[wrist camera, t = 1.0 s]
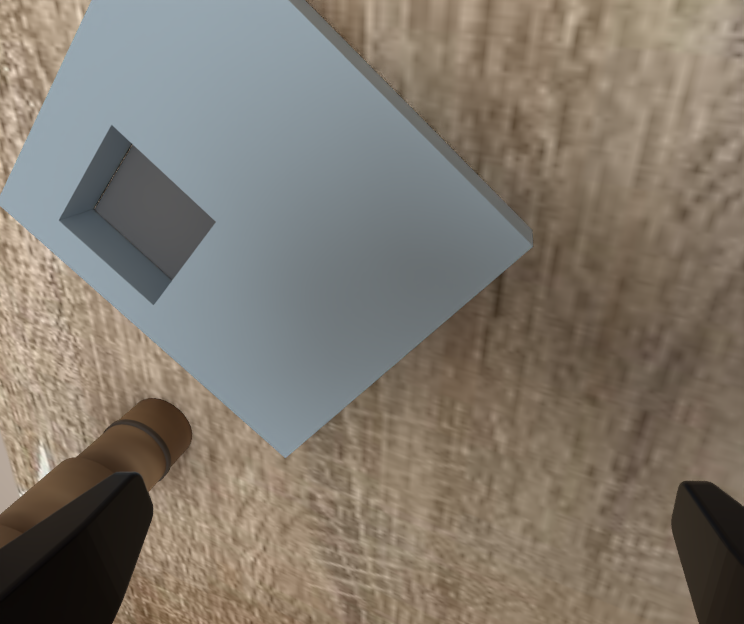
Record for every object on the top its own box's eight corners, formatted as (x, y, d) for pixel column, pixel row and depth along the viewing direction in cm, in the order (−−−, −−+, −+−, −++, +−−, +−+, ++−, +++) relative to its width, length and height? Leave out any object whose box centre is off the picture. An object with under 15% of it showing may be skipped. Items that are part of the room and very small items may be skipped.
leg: (216, 433, 27) (-10, 701, 16) (174, 474, 29) (-54, 739, 18) (148, 374, 27) (-135, 605, 15) (110, 420, 29) (-165, 656, 17)
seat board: (532, 230, 19) (533, 246, 18) (301, 431, 26) (285, 458, 24) (191, -115, 18) (154, -135, 16) (35, 192, 24) (-4, 202, 22)
